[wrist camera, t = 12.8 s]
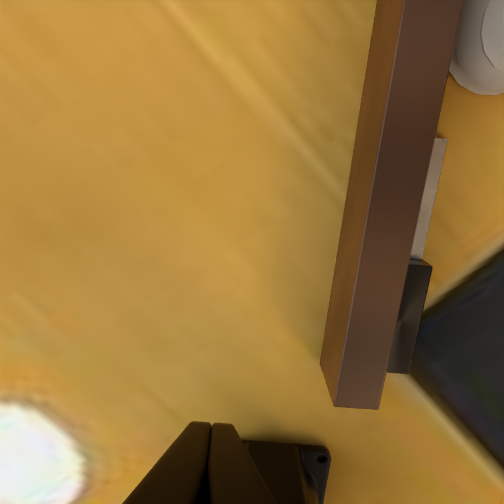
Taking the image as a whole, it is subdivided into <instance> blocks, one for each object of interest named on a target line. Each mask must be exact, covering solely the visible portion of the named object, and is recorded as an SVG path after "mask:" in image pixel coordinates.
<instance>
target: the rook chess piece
mask: <svg viewBox="0 0 504 504" xmlns="http://www.w3.org/2000/svg"><path fill="white" fill-rule="evenodd" d="M449 72H450V73H451V74H452V76H453V77H454V78H455V80H456V81H457V83H458V84H459V85H461V86H462V87H464V88H466V89H468V90H470V91H472V92H474V93H475V94H483V95H499V94H502V93H504V0H463V5H462V10H461V14H460V19H459V24H458V29H457V34H456V38H455V43H454V48H453V53H452V58H451V63H450V67H449Z"/></svg>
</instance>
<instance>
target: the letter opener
mask: <svg viewBox="0 0 504 504" xmlns="http://www.w3.org/2000/svg"><path fill="white" fill-rule="evenodd" d="M447 141H448V139H444V138H435V140H434V145H433V149H432V154H431V159H430V164H429V169H428V174H427V178H426V183H425V188H424V193H423V198H422V202H421V207H420V212H419V217H418V222H417V227H416V231H415V236H414V241H413V246H412V251H411V256H410V260H409V265H408V270H407V275H406V280H405V284H404V289H403V294H402V299H401V304H400V309H399V313H398V318H397V323H396V328H395V333H394V338H393V342H392V347H391V352H390V357H389V362H388V366H387V371H386V372H388V373H401V374H409V371H410V366H411V362H412V357H413V353H414V348H415V344H416V339H417V335H418V331H419V326H420V322H421V317H422V313H423V308H424V304H425V299H426V295H427V290H428V286H429V281H430V277H431V272H432V268H433V267H432V266H431V265H430V264H428V263H427V262H426V261H424V260H423V259H422V257H423V252H424V247H425V243H426V238H427V234H428V229H429V224H430V220H431V215H432V210H433V206H434V201H435V196H436V192H437V187H438V183H439V178H440V173H441V169H442V164H443V159H444V155H445V150H446V145H447Z"/></svg>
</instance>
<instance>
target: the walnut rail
mask: <svg viewBox="0 0 504 504" xmlns="http://www.w3.org/2000/svg"><path fill="white" fill-rule="evenodd" d="M462 5H463V0H377V5H376V12H375V18H374V24H373V31H372V37H371V43H370V50H369V56H368V62H367V69H366V75H365V81H364V88H363V94H362V100H361V107H360V113H359V119H358V126H357V132H356V138H355V145H354V151H353V157H352V164H351V170H350V176H349V183H348V189H347V195H346V202H345V208H344V214H343V221H342V227H341V233H340V240H339V246H338V252H337V259H336V265H335V271H334V278H333V284H332V290H331V297H330V303H329V309H328V316H327V322H326V328H325V335H324V341H323V347H322V354H321V360H320V366H321V369H322V372H323V375H324V378H325V381H326V384H327V387H328V390H329V393H330V396H331V399H332V402H333V406H334V407H345V408H359V409H373V410H378V409H379V405H380V400H381V395H382V391H383V386H384V381H385V376H386V371H387V366H388V362H389V357H390V352H391V347H392V342H393V338H394V333H395V328H396V323H397V318H398V313H399V309H400V304H401V299H402V294H403V289H404V284H405V280H406V275H407V270H408V265H409V260H410V256H411V251H412V246H413V241H414V236H415V231H416V227H417V222H418V217H419V212H420V207H421V202H422V198H423V193H424V188H425V183H426V178H427V174H428V169H429V164H430V159H431V154H432V149H433V145H434V140H435V135H436V130H437V125H438V120H439V116H440V111H441V106H442V101H443V96H444V92H445V87H446V82H447V77H448V72H449V67H450V63H451V58H452V53H453V48H454V43H455V38H456V34H457V29H458V24H459V19H460V14H461V10H462Z"/></svg>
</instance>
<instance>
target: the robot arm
mask: <svg viewBox="0 0 504 504" xmlns="http://www.w3.org/2000/svg"><path fill="white" fill-rule="evenodd" d="M320 455H323V457H321V458H319V457H318V456H320ZM330 462H331V456H330V453H329V450H328V449H327V448H326V447H324V446H314V445H299V444H284V443H269V442H254V441H242V440H241V439H240V437H239V435H238V433H237V431H236V429H235V428H234V426H233V425H232V424H226V423H214V424H213V425H212V429H211V424H210V423H209V422H197V421H192V422H191V423H189V425H188V426H187V427H186V428H185V429H184V431H183V432H182V433H181V434H180V435H179V437H178V438H177V439H176V440H175V441H174V443H173V444H172V445H171V446H170V447H169V448H168V450H167V451H166V452H165V453H164V454H163V456H162V457H161V458H160V459H159V460H158V462H157V463H156V464H155V465H154V466H153V468H152V469H151V470H150V471H149V472H148V474H147V475H146V476H145V477H144V478H143V480H142V481H141V482H140V483H139V484H138V485H137V487H136V488H135V489H134V490H133V491H132V493H131V494H130V495H129V496H128V497H127V499H126V500H125V501H124V502H123V503H122V504H323V501H324V495H325V490H326V484H327V479H328V473H329V467H330Z"/></svg>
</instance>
